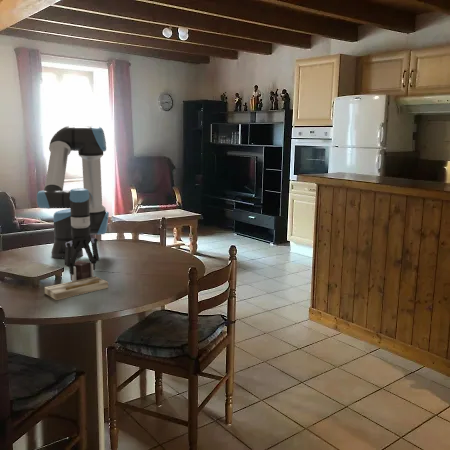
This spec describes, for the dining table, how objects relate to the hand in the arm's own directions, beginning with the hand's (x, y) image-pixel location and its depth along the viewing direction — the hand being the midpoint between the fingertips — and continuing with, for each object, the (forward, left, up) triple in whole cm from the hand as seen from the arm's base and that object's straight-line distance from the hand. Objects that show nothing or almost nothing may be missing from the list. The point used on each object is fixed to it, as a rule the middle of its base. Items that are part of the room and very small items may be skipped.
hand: (82, 279), depth 200 cm
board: (+9, -7, -1) cm, 11 cm away
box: (-1, 0, 0) cm, 1 cm away
